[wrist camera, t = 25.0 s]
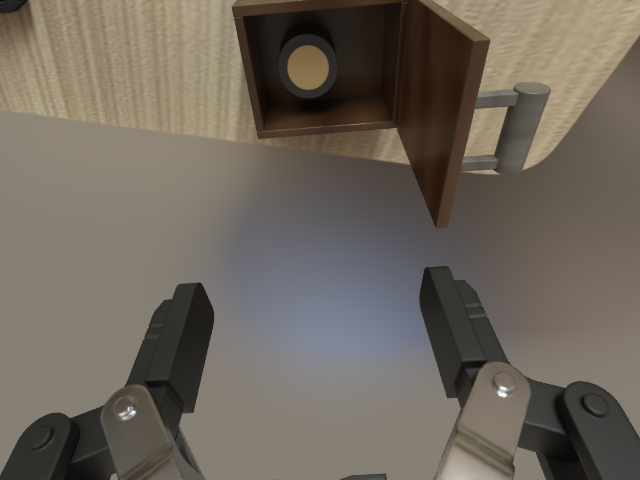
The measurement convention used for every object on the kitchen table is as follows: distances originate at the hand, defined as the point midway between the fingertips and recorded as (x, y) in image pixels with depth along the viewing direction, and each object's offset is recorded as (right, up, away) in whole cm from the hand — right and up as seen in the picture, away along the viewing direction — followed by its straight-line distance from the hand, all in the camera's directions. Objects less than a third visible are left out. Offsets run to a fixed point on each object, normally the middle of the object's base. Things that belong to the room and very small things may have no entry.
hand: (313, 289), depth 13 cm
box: (0, +22, +24) cm, 32 cm away
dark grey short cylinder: (-1, +21, +23) cm, 31 cm away
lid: (+7, +12, +12) cm, 18 cm away
